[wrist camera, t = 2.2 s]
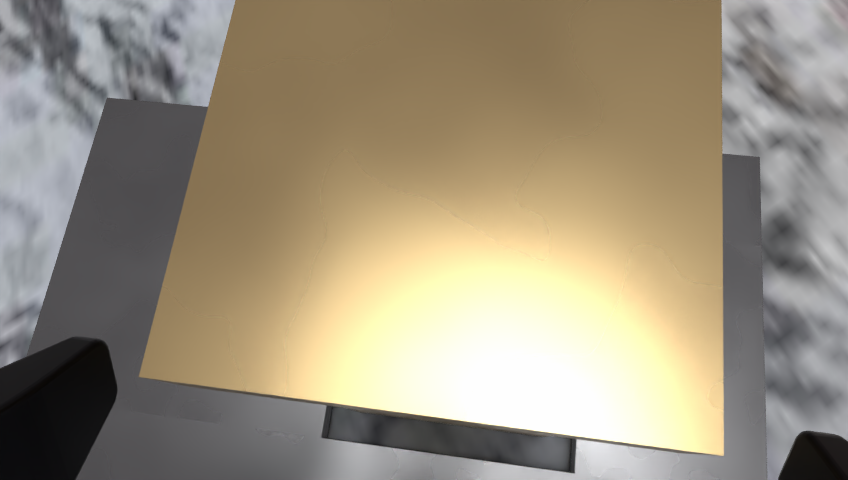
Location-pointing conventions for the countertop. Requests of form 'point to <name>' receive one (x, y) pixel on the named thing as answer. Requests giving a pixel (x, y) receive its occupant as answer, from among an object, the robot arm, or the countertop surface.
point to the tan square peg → (461, 217)
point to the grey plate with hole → (305, 422)
